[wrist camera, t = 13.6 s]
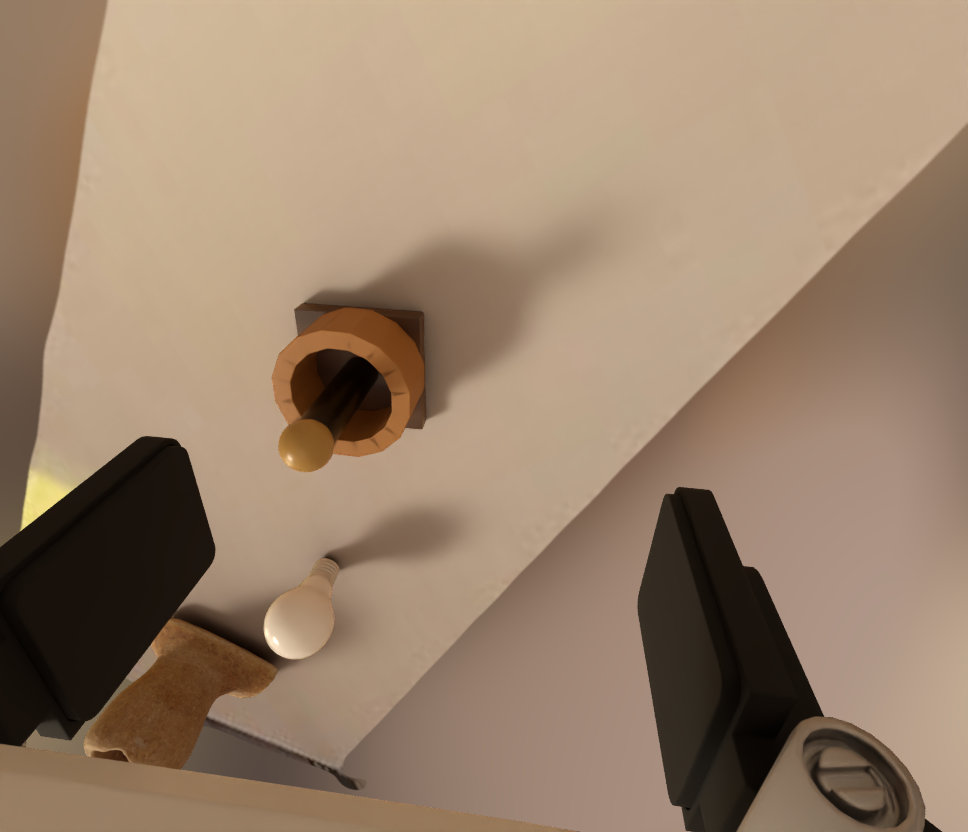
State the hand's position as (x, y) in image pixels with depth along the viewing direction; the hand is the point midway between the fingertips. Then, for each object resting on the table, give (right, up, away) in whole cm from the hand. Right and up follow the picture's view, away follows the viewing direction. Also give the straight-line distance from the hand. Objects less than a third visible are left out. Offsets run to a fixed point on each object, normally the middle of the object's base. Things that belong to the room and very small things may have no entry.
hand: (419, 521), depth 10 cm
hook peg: (-9, +6, +33) cm, 35 cm away
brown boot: (-33, -28, +58) cm, 72 cm away
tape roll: (-9, +6, +33) cm, 35 cm away
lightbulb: (-15, -14, +47) cm, 52 cm away
